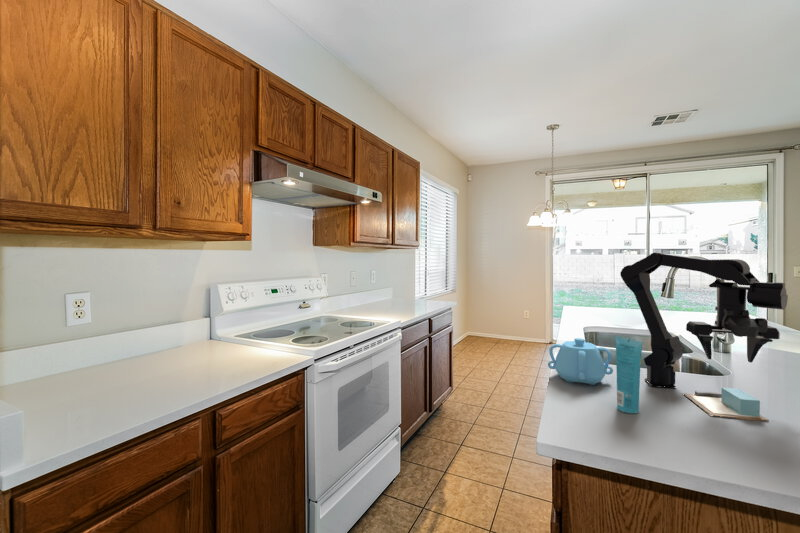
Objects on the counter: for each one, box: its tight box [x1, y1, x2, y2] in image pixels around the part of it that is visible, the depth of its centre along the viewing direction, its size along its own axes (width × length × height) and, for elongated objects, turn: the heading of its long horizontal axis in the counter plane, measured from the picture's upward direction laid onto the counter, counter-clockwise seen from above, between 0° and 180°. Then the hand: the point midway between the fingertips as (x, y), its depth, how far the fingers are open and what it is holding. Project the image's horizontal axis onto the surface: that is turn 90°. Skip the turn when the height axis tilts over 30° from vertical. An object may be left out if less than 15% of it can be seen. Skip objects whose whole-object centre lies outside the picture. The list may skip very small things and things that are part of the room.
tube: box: [614, 335, 644, 414], centre depth 97 cm, size 7×5×19 cm, turn 29°
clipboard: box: [682, 390, 770, 422], centre depth 98 cm, size 12×15×1 cm
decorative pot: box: [547, 337, 614, 386], centre depth 121 cm, size 16×16×14 cm
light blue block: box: [721, 387, 761, 417], centre depth 97 cm, size 10×4×4 cm, turn 164°
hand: (729, 360), depth 101 cm, fingers open, 9 cm apart
